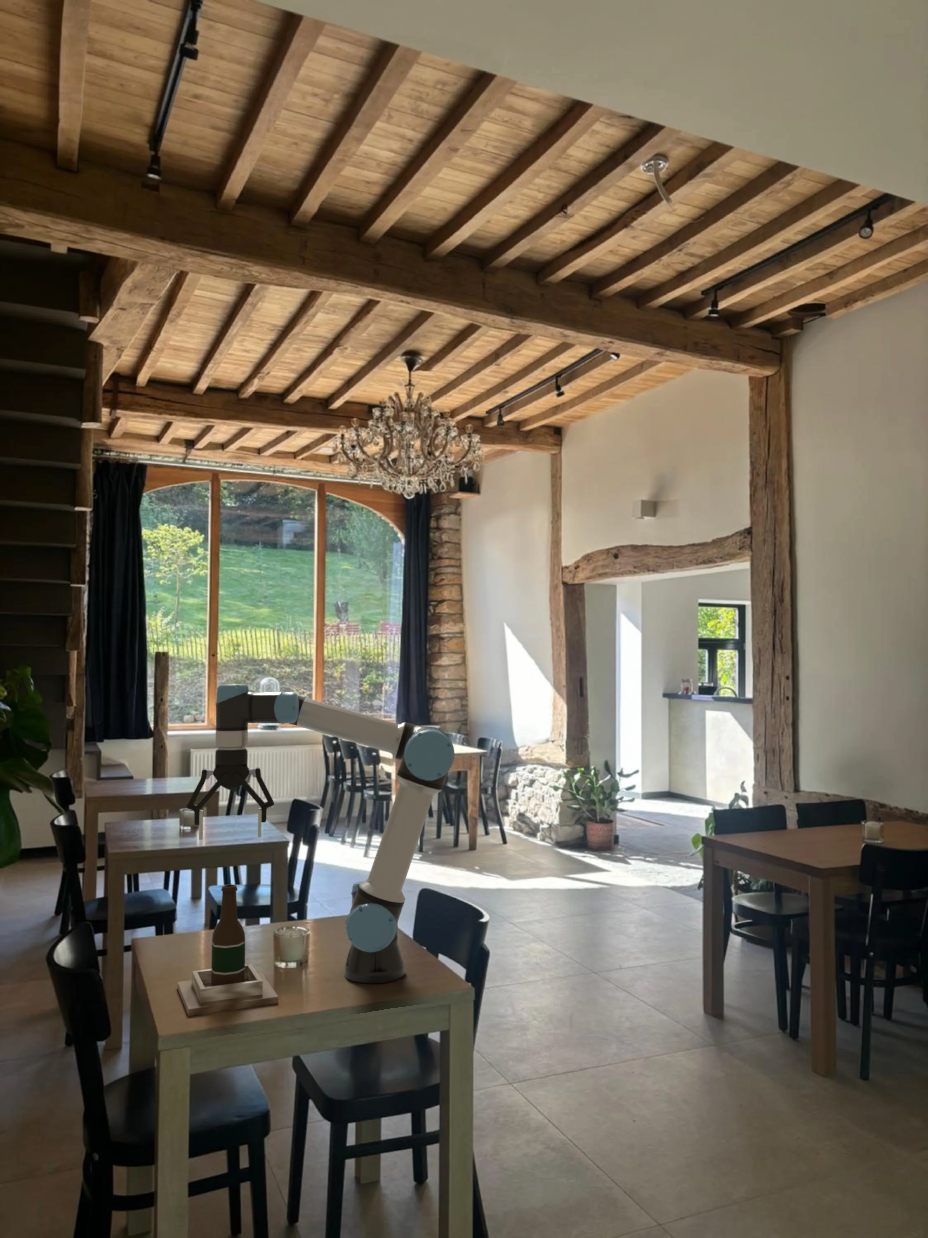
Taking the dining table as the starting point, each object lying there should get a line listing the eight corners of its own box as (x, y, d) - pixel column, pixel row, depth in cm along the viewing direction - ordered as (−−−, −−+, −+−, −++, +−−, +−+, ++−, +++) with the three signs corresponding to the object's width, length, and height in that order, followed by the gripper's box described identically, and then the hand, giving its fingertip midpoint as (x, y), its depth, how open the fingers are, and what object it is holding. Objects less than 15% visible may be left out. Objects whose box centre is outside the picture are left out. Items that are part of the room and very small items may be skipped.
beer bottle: (241, 994, 213) (243, 889, 215) (207, 995, 213) (209, 889, 214) (247, 983, 221) (248, 881, 222) (214, 984, 220) (216, 882, 222)
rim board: (260, 977, 230) (260, 959, 230) (278, 1003, 211) (278, 983, 212) (177, 988, 222) (177, 969, 222) (188, 1016, 203) (188, 995, 204)
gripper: (283, 746, 228) (282, 832, 226) (178, 748, 222) (177, 837, 220) (285, 748, 220) (284, 838, 219) (176, 750, 214) (174, 842, 213)
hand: (230, 837), depth 220 cm, fingers open, 13 cm apart
